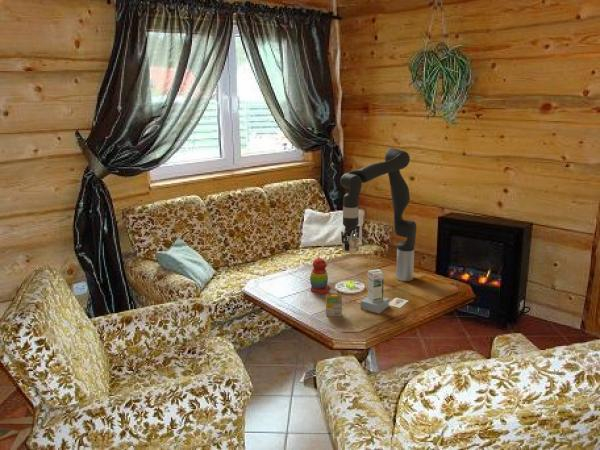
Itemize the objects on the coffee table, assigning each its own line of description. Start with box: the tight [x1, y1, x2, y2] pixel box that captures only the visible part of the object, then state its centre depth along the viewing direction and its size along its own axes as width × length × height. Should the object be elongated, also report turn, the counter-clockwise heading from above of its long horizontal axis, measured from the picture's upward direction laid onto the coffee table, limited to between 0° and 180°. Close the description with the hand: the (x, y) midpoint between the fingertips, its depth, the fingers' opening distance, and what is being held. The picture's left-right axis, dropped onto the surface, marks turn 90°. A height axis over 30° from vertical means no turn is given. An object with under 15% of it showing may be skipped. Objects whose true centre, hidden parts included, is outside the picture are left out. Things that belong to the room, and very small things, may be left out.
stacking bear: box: [309, 256, 331, 295], centre depth 264 cm, size 11×10×18 cm
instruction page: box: [389, 297, 409, 309], centre depth 249 cm, size 10×7×1 cm
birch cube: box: [341, 238, 360, 255], centre depth 244 cm, size 6×6×6 cm
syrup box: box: [367, 268, 385, 302], centre depth 242 cm, size 6×6×14 cm
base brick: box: [360, 295, 390, 314], centre depth 244 cm, size 10×10×4 cm
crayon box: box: [325, 292, 343, 317], centre depth 236 cm, size 7×3×12 cm, turn 92°
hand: (350, 248), depth 245 cm, fingers closed on birch cube, 6 cm apart
